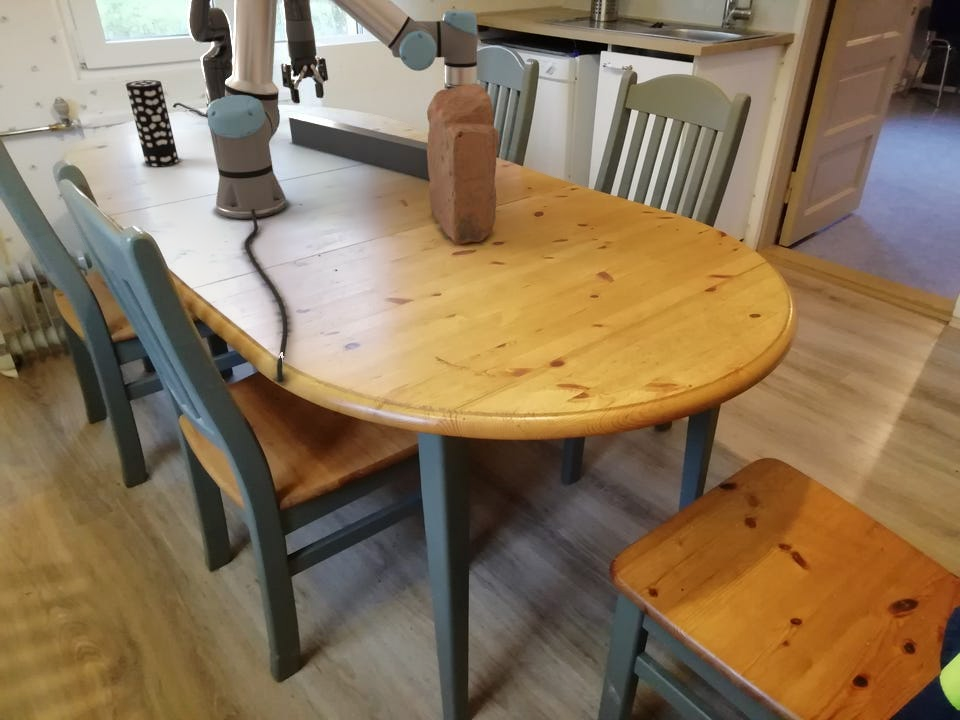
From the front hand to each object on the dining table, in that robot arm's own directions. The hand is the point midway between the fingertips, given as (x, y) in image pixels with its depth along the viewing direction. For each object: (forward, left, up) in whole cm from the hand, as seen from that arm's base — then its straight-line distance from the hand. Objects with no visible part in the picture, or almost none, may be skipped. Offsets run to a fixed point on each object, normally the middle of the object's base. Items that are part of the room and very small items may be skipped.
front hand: (461, 181), depth 174 cm
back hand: (+50, +23, +12) cm, 56 cm away
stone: (-25, +13, -1) cm, 28 cm away
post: (+25, +11, -1) cm, 28 cm away
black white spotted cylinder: (+53, +64, +10) cm, 83 cm away
